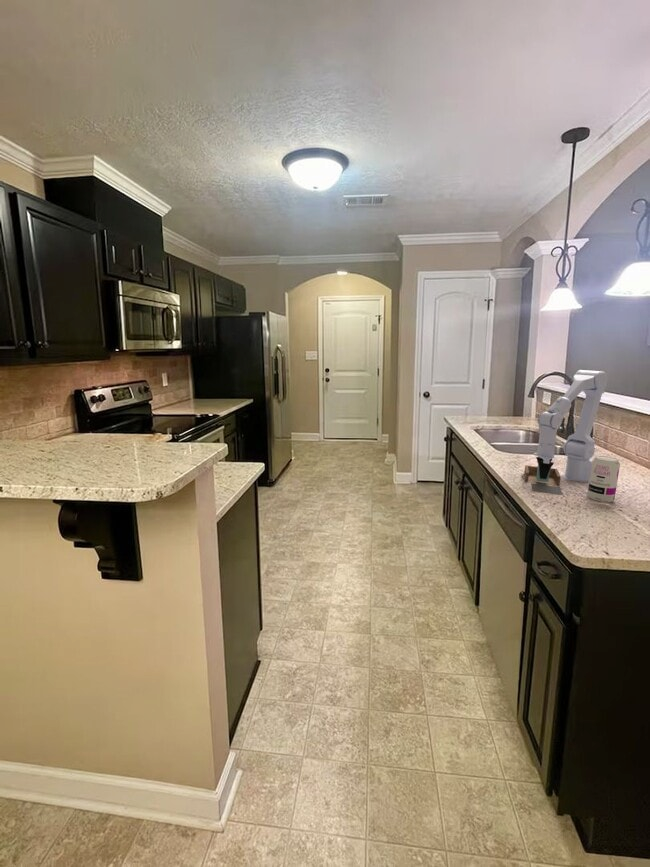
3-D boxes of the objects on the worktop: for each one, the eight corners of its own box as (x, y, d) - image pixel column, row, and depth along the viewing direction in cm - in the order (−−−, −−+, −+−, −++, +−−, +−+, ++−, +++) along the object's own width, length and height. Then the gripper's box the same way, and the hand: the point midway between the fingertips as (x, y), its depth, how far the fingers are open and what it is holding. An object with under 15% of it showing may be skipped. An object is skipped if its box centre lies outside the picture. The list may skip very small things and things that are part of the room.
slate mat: (559, 488, 164) (559, 487, 164) (562, 496, 155) (563, 495, 155) (531, 484, 168) (531, 483, 168) (532, 492, 159) (532, 491, 159)
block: (547, 479, 169) (549, 464, 168) (548, 482, 165) (550, 467, 164) (536, 477, 171) (538, 463, 169) (536, 480, 167) (538, 465, 166)
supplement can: (610, 497, 155) (616, 456, 152) (617, 504, 147) (623, 462, 144) (584, 494, 157) (590, 454, 154) (590, 501, 150) (596, 460, 147)
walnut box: (556, 478, 177) (557, 468, 176) (559, 486, 166) (560, 476, 165) (524, 474, 181) (525, 465, 180) (525, 482, 170) (526, 472, 170)
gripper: (534, 438, 173) (530, 470, 176) (536, 445, 160) (532, 480, 163) (553, 440, 170) (549, 473, 173) (557, 447, 157) (553, 483, 160)
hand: (542, 477), depth 168 cm, fingers closed on block, 4 cm apart
